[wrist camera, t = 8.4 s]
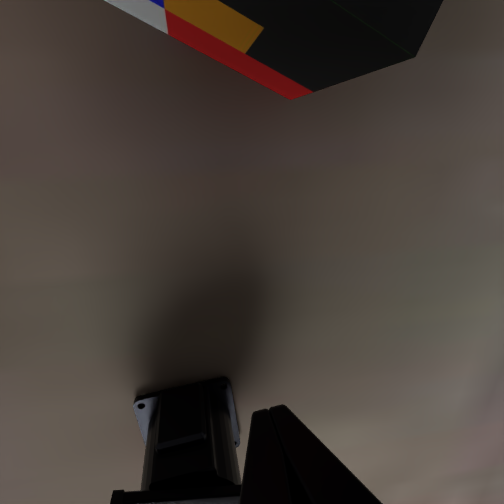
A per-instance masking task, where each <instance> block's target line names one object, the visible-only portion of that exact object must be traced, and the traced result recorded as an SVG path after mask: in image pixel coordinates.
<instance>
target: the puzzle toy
mask: <svg viewBox="0 0 504 504" xmlns="http://www.w3.org/2000/svg"><path fill="white" fill-rule="evenodd" d="M104 1H106V2H108V3H110V4H112V5H114V6H116V7H117V8H119V9H121V10H123V11H125V12H127V13H129V14H131V15H132V16H134V17H136V18H138V19H140V20H142V21H144V22H146V23H147V24H149V25H151V26H153V27H155V28H157V29H159V30H160V31H162V32H164V33H166V34H168V35H170V36H172V37H174V38H175V39H177V40H179V41H181V42H183V43H185V44H187V45H189V46H190V47H192V48H194V49H196V50H198V51H200V52H202V53H203V54H205V55H207V56H209V57H211V58H213V59H215V60H217V61H218V62H220V63H222V64H224V65H226V66H228V67H230V68H232V69H233V70H235V71H237V72H239V73H241V74H243V75H245V76H247V77H248V78H250V79H252V80H254V81H256V82H258V83H260V84H261V85H263V86H265V87H267V88H269V89H271V90H273V91H275V92H276V93H278V94H280V95H282V96H284V97H286V98H288V99H290V100H292V99H295V98H297V97H300V96H303V95H306V94H309V93H312V92H315V91H318V90H321V89H324V88H327V87H330V86H332V85H335V84H338V83H341V82H344V81H347V80H350V79H353V78H356V77H359V76H362V75H365V74H367V73H370V72H373V71H376V70H379V69H382V68H385V67H388V66H391V65H394V64H397V63H399V62H402V61H405V60H408V59H411V58H414V57H415V56H416V54H417V52H418V50H419V48H420V46H421V44H422V42H423V40H424V38H425V36H426V34H427V32H428V30H429V28H430V26H431V24H432V22H433V20H434V18H435V16H436V14H437V12H438V10H439V8H440V6H441V4H442V2H443V0H104Z"/></svg>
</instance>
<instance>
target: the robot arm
mask: <svg viewBox="0 0 504 504" xmlns="http://www.w3.org/2000/svg"><path fill="white" fill-rule="evenodd" d="M222 384H225V385H223V386H221V385H222ZM140 403H143V404H140ZM133 408H134V411H135V414H136V417H137V421H138V424H139V427H140V430H141V433H142V436H143V439H144V443H145V446H146V449H145V458H144V466H143V474H142V483H141V491H128V492H124V490H113V494H112V498H111V502H110V504H382V503H381V502H380V501H379V500H378V499H377V498H376V497H375V496H374V495H373V494H372V493H371V492H370V491H369V490H368V489H367V488H366V486H365V485H364V484H363V483H362V482H361V481H360V480H359V479H358V478H357V477H356V476H355V475H354V474H353V473H352V472H351V471H350V470H349V469H348V468H347V467H346V466H345V465H344V464H343V463H342V462H341V461H340V460H339V459H338V458H337V457H336V456H335V455H334V454H333V453H332V452H331V451H330V450H329V449H328V448H327V447H326V446H325V445H324V444H323V443H322V442H321V441H320V440H319V439H318V438H317V437H316V436H315V435H314V434H313V433H312V432H311V431H310V430H309V429H308V428H307V427H306V426H305V425H304V424H303V423H302V422H301V421H300V420H299V419H298V417H297V416H296V415H295V414H294V413H293V412H292V411H291V410H290V409H289V408H288V407H287V406H285V405H283V404H282V405H278V406H274V407H271V408H270V409H269V410H268V409H262V410H258V411H255V412H253V414H252V418H251V425H250V432H249V439H248V446H247V453H246V459H245V466H244V473H243V480H242V483H241V477H240V471H239V465H238V460H237V454H236V448H237V447H238V446H239V445H240V438H239V432H238V426H237V420H236V414H235V408H234V402H233V396H232V390H231V384H230V380H229V379H228V378H227V377H220V378H215V379H211V380H207V381H202V382H198V383H194V384H189V385H185V386H181V387H176V388H172V389H168V390H163V391H159V392H155V393H150V394H146V395H142V396H139V397H137V398H136V399H135V400H134V405H133Z"/></svg>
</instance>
